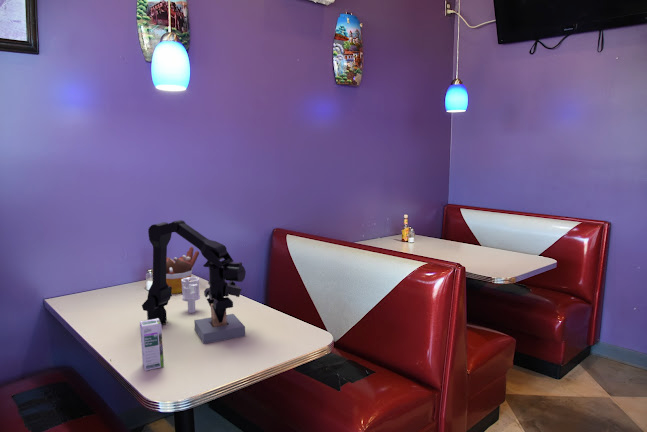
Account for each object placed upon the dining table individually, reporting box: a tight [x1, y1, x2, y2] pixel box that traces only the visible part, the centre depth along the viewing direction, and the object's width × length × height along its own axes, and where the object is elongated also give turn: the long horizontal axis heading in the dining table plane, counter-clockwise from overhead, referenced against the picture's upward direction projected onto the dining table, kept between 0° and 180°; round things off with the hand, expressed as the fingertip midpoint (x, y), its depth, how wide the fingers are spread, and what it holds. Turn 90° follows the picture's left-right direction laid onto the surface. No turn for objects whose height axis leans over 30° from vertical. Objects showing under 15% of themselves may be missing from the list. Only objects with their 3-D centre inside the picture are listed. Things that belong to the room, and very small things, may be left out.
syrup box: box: [139, 318, 165, 372], centre depth 150 cm, size 6×6×14 cm
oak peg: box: [210, 303, 227, 327], centre depth 176 cm, size 4×4×9 cm
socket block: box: [194, 313, 246, 344], centre depth 177 cm, size 15×15×4 cm
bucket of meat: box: [166, 246, 200, 295], centre depth 228 cm, size 20×16×20 cm
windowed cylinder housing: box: [181, 276, 201, 314], centre depth 199 cm, size 7×7×15 cm
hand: (218, 320), depth 177 cm, fingers closed on oak peg, 4 cm apart
